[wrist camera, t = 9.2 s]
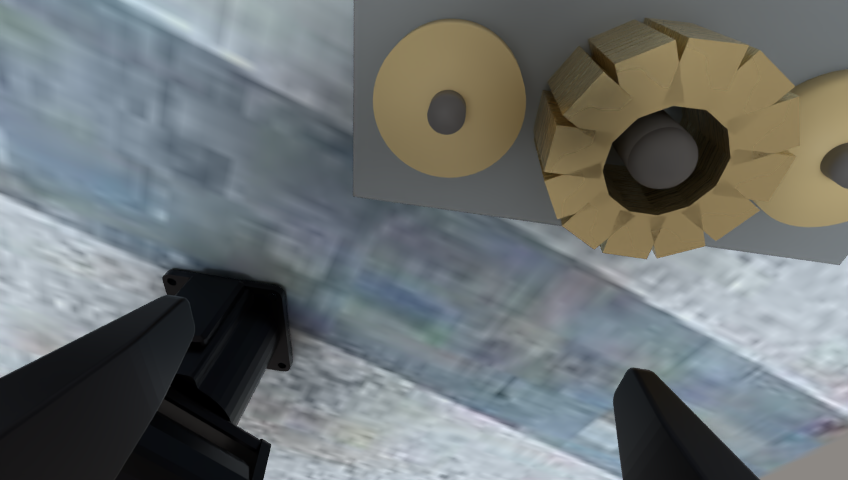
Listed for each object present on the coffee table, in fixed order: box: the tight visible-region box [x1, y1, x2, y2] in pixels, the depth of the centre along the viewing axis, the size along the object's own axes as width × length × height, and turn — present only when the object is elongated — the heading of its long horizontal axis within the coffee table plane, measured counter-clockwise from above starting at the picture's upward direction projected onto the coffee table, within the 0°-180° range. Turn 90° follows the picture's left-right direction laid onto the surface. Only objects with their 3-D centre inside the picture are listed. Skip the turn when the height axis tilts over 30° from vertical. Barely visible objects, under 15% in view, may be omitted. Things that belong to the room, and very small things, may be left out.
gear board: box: [353, 0, 848, 265], centre depth 14 cm, size 9×20×6 cm, turn 85°
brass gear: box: [533, 18, 800, 259], centre depth 14 cm, size 6×6×4 cm
